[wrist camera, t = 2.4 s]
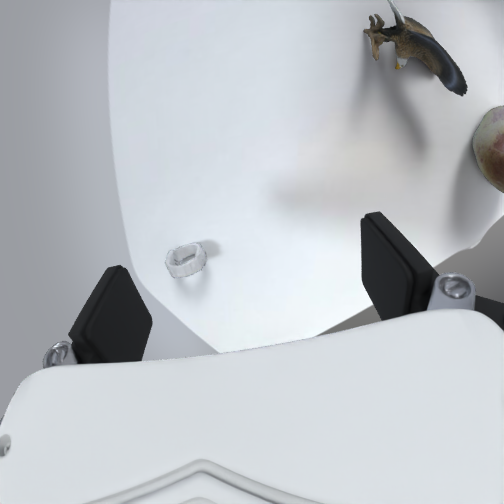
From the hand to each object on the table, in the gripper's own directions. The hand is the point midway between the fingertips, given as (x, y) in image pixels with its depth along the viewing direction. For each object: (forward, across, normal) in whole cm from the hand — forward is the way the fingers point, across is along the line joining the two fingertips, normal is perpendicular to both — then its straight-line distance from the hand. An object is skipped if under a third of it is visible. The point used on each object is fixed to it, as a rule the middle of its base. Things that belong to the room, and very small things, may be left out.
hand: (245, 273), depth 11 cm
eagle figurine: (+16, -17, -9) cm, 25 cm away
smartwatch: (+16, +7, +7) cm, 19 cm away
